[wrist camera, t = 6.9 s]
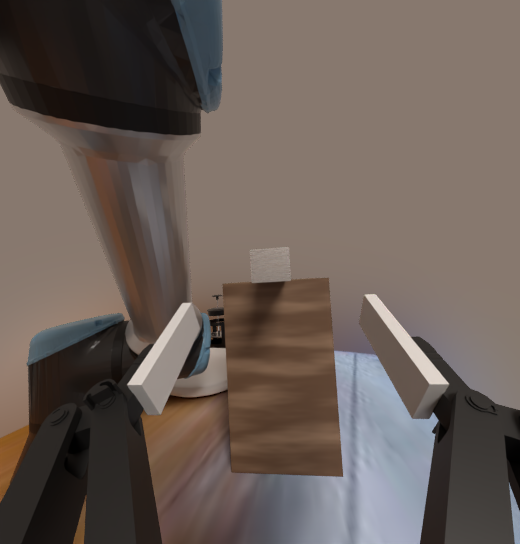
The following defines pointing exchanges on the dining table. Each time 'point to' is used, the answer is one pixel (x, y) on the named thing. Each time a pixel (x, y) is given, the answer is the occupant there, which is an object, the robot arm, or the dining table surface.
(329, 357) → the walnut stand
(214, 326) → the french press
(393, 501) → the dining table surface
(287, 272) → the metal bar
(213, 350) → the plate
